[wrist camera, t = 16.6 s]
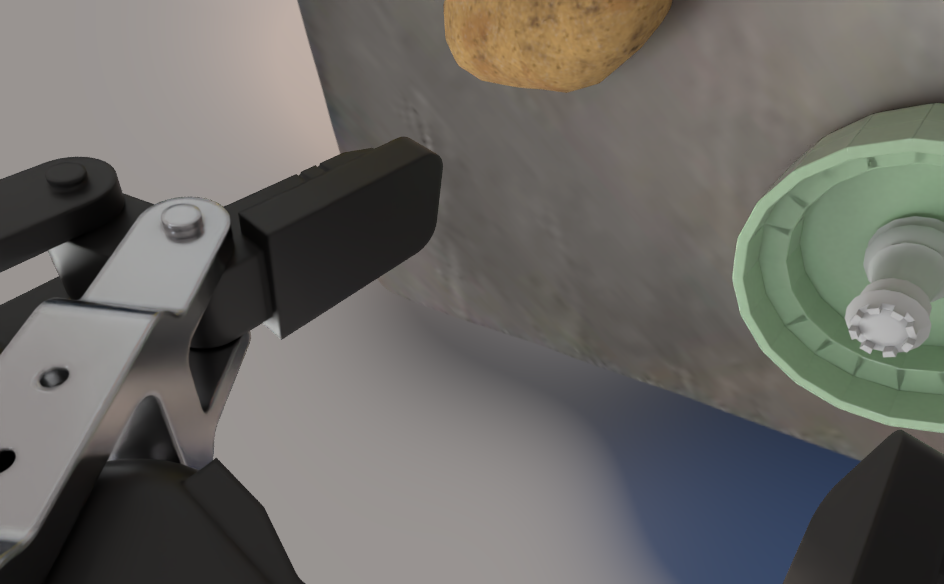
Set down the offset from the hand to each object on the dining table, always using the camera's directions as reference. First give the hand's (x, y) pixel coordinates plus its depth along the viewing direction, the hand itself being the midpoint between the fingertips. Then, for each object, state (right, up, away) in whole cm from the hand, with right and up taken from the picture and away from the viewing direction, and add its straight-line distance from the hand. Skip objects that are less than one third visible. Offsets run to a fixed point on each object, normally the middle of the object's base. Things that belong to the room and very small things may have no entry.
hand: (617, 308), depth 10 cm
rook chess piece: (+21, +2, +22) cm, 30 cm away
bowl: (+21, +3, +22) cm, 31 cm away
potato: (+5, +18, +27) cm, 33 cm away
